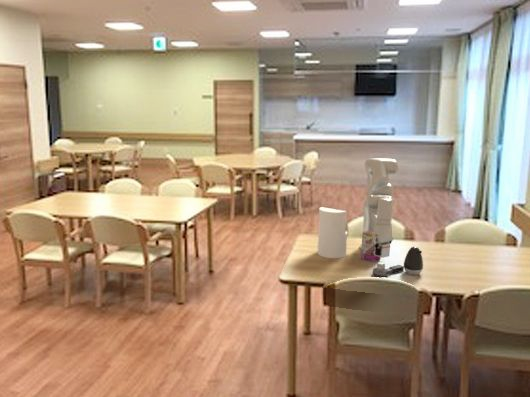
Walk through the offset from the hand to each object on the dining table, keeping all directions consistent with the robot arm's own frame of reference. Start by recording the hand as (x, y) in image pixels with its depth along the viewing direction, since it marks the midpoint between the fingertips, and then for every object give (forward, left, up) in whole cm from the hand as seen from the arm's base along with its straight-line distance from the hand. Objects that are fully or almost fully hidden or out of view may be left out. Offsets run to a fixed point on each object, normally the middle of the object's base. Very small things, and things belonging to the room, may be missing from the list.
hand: (381, 253), depth 268 cm
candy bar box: (-15, -22, -13) cm, 30 cm away
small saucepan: (-6, 0, -12) cm, 14 cm away
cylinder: (-2, -42, -13) cm, 44 cm away
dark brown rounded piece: (-18, +7, -13) cm, 23 cm away
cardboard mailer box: (0, 0, -1) cm, 1 cm away
